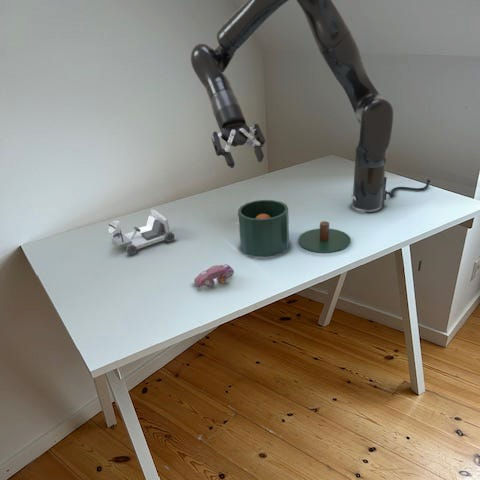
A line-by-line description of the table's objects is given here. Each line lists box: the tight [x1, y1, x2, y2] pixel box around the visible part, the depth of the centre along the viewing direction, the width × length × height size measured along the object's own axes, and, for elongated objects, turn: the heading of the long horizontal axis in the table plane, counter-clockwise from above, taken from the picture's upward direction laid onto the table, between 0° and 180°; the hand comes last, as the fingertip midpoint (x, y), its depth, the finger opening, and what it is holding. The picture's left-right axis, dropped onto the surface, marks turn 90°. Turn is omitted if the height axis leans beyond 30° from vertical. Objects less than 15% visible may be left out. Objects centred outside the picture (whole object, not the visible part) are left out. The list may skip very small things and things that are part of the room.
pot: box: [237, 199, 290, 258], centre depth 136 cm, size 14×14×12 cm
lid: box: [297, 220, 351, 254], centre depth 137 cm, size 15×15×6 cm
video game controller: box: [193, 263, 235, 289], centre depth 123 cm, size 10×5×7 cm, turn 117°
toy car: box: [108, 208, 175, 256], centre depth 145 cm, size 18×10×12 cm
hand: (247, 163), depth 134 cm, fingers open, 8 cm apart
